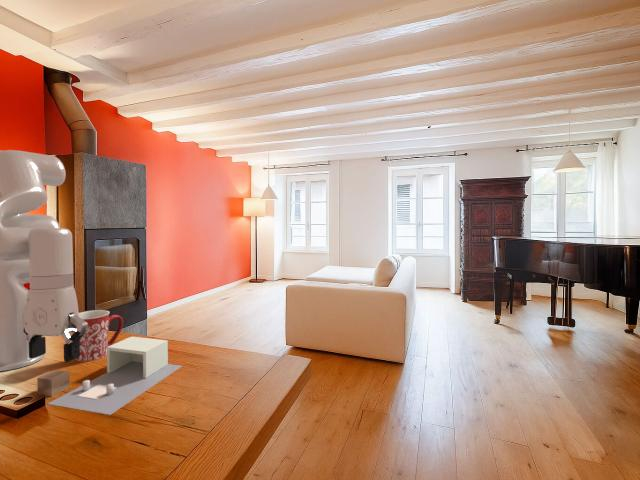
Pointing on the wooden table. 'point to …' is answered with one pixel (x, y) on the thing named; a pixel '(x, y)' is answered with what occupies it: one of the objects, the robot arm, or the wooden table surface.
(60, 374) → the block
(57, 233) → the robot arm
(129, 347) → the housing cover
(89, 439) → the wooden table surface
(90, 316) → the mug
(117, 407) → the base board
